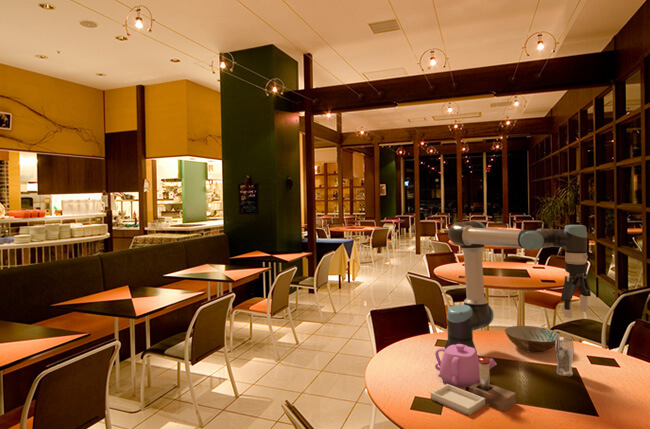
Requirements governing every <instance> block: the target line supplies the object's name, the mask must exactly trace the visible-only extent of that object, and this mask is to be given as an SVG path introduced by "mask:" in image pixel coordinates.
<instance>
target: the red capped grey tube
mask: <svg viewBox="0 0 650 429" xmlns="http://www.w3.org/2000/svg"><path fill="white" fill-rule="evenodd" d="M490 359H491V357H488V356H478V362H479V383H480V389H482V390H485V391H489V390H490V384H491V383H490V378H491V376H490V369H489V363H490Z"/></svg>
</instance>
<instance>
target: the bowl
mask: <svg viewBox="0 0 650 429" xmlns="http://www.w3.org/2000/svg"><path fill="white" fill-rule="evenodd" d="M504 332H505V334H506V336H507V338H508V339H509V340H510V342H511V343H513V345H515V346H516V347H518V348H520V349H521V350H522V351H524V352H529V353H531V354H533V353H534V354H543V353H545V352H548V351H550V350H552V349H553V348H555V337H558V336H562V335H561V334H560V333H559V332H557V331H555V330H552V329H549V328H545V327H541V326H534V325H533V326H532V325H513V326H509V327H507V328H505V329H504Z"/></svg>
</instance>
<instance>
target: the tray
mask: <svg viewBox="0 0 650 429" xmlns="http://www.w3.org/2000/svg"><path fill="white" fill-rule="evenodd" d="M430 400H431V401H434V402H436V401H437V403H438V402H439V404H441V405H444V406H446V407H448V408H450V409H453V410H455V411H458V412H459V413H462V414H465V415H467V416H470V415H472V414H473V413H475V412H477V411H478V410H480V409H482V408H483V407H484V406H486V404H485V398H483V397H480V396H478V395H475V394H473V393H470V392H469V391H468V390H464V389H462V388H460V387H456V386H455V385H452V384H448V383H445V385H443V386H441V387H439V388H437V389H436V390H433V391H431V392H430Z"/></svg>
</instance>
